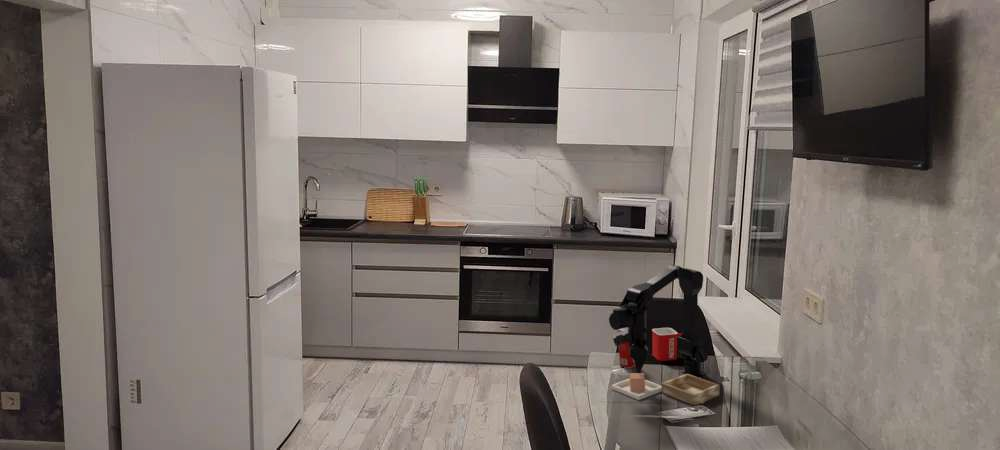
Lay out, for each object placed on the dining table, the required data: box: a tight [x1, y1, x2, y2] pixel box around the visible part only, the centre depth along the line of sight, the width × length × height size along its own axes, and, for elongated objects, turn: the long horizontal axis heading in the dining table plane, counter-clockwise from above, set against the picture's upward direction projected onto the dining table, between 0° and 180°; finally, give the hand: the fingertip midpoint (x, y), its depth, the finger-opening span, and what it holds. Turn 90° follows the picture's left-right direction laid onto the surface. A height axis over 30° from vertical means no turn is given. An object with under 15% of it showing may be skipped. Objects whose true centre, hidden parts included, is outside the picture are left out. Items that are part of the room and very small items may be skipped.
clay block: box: [629, 372, 646, 393], centre depth 239 cm, size 5×5×5 cm
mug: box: [651, 327, 683, 362], centre depth 271 cm, size 12×8×11 cm
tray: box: [610, 377, 661, 401], centre depth 239 cm, size 13×13×2 cm
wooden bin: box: [660, 374, 721, 406], centre depth 234 cm, size 14×14×4 cm
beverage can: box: [617, 327, 635, 369], centre depth 262 cm, size 6×6×15 cm
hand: (637, 367), depth 238 cm, fingers open, 9 cm apart
